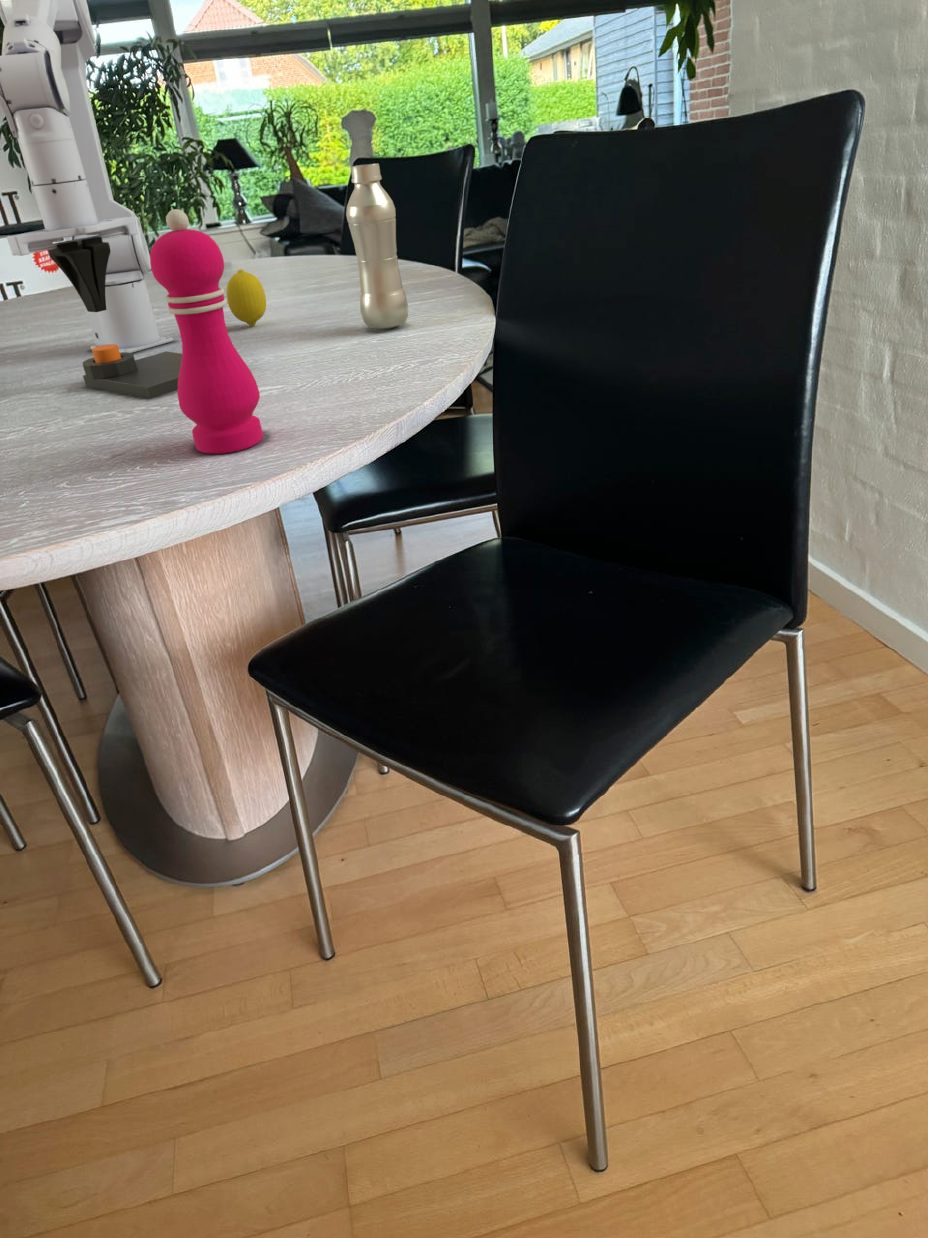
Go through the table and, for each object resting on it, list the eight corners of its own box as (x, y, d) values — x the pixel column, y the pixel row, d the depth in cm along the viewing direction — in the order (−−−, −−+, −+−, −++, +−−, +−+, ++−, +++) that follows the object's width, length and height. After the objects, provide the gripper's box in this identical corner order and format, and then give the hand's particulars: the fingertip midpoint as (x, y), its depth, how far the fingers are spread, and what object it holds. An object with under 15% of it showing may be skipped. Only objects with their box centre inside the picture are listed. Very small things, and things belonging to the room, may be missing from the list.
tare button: (91, 363, 105) (86, 349, 104) (113, 357, 107) (108, 343, 106) (104, 366, 103) (100, 351, 102) (126, 359, 105) (122, 344, 104)
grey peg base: (81, 387, 106) (73, 362, 104) (166, 361, 114) (160, 338, 112) (147, 400, 98) (140, 373, 96) (235, 371, 106) (229, 346, 104)
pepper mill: (198, 434, 84) (141, 209, 74) (272, 426, 85) (225, 200, 74) (184, 460, 78) (119, 218, 68) (264, 450, 78) (211, 208, 68)
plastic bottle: (420, 323, 120) (401, 160, 110) (391, 334, 115) (368, 166, 105) (383, 321, 123) (361, 163, 113) (353, 332, 119) (328, 169, 109)
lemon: (262, 329, 126) (250, 271, 122) (227, 331, 128) (214, 273, 124) (276, 321, 131) (265, 264, 127) (243, 322, 132) (231, 267, 128)
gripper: (13, 190, 88) (57, 326, 95) (136, 173, 98) (168, 299, 105) (-18, 191, 93) (26, 322, 99) (103, 175, 102) (135, 296, 109)
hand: (97, 310), depth 102 cm, fingers closed
